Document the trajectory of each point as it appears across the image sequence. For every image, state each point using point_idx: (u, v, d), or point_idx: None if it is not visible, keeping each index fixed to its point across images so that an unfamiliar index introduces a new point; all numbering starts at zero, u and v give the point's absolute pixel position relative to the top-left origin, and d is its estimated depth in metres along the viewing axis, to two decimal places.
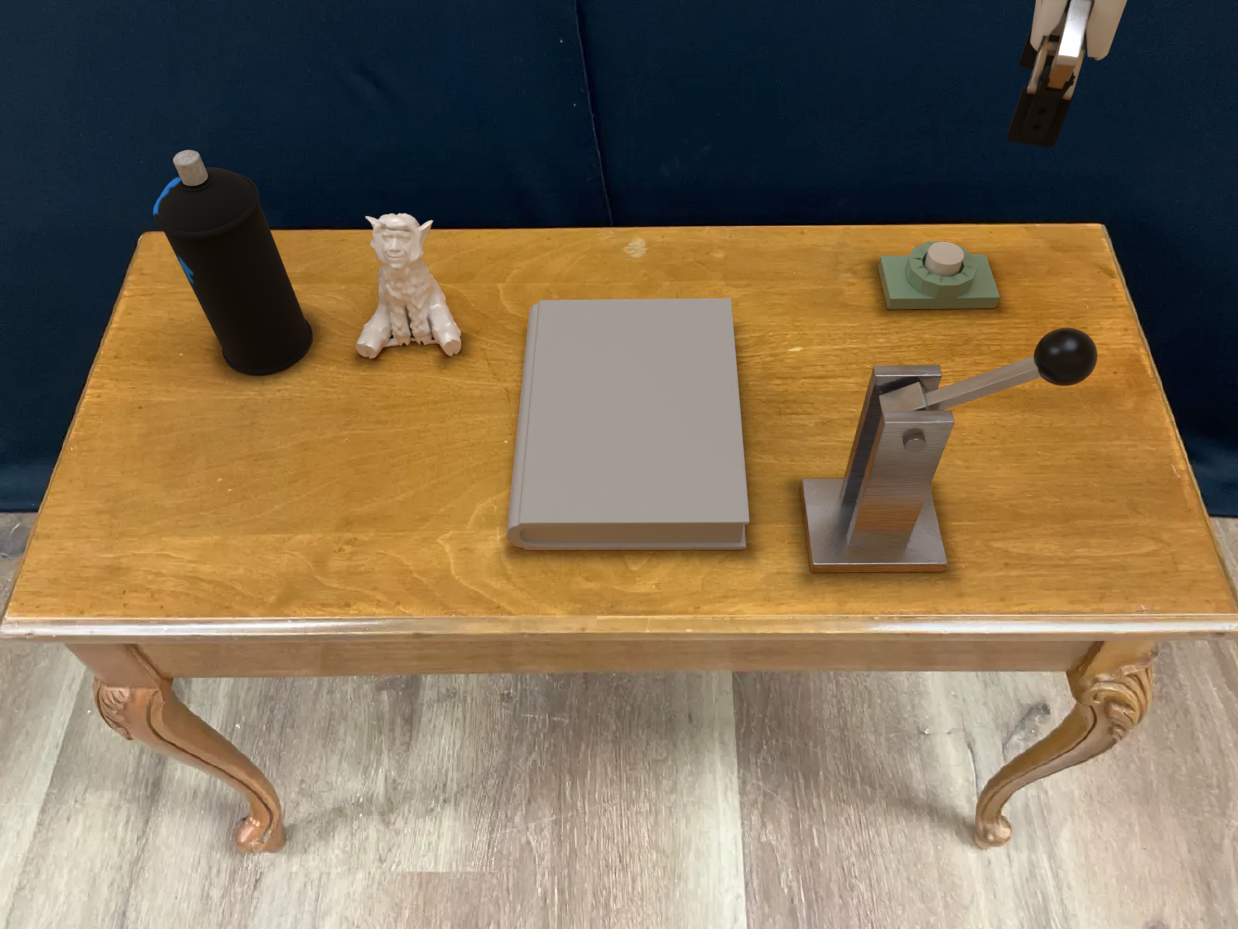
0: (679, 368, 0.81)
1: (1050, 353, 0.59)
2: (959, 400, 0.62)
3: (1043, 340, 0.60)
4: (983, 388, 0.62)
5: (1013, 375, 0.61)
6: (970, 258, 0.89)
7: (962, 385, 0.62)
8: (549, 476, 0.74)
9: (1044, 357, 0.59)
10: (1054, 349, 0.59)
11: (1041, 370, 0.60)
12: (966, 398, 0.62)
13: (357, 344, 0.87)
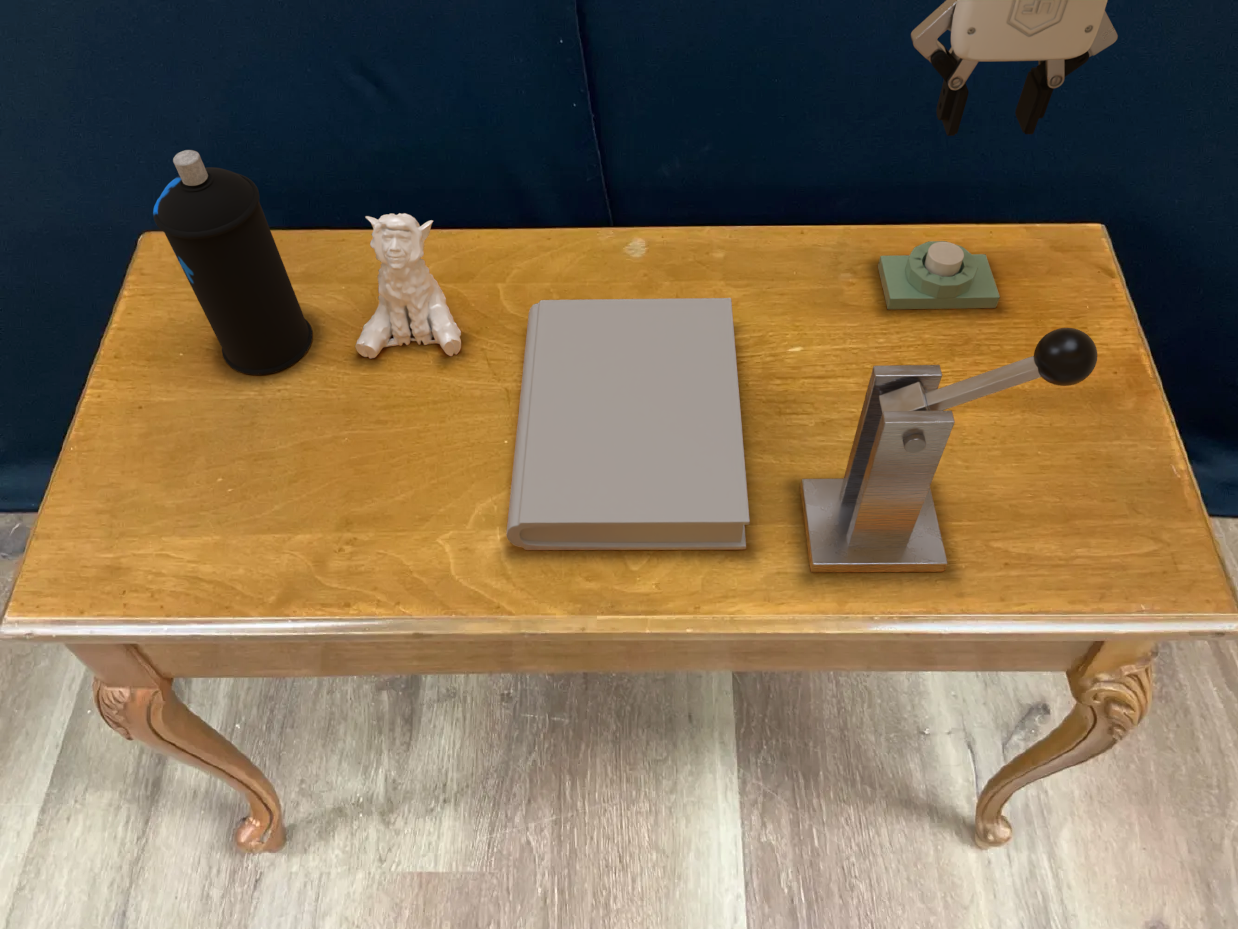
0: (679, 367, 0.81)
1: (1050, 353, 0.59)
2: (959, 400, 0.62)
3: (1043, 340, 0.60)
4: (983, 388, 0.62)
5: (1013, 375, 0.61)
6: (970, 258, 0.89)
7: (962, 385, 0.62)
8: (549, 476, 0.74)
9: (1044, 357, 0.59)
10: (1054, 349, 0.59)
11: (1041, 370, 0.60)
12: (966, 398, 0.62)
13: (357, 344, 0.87)
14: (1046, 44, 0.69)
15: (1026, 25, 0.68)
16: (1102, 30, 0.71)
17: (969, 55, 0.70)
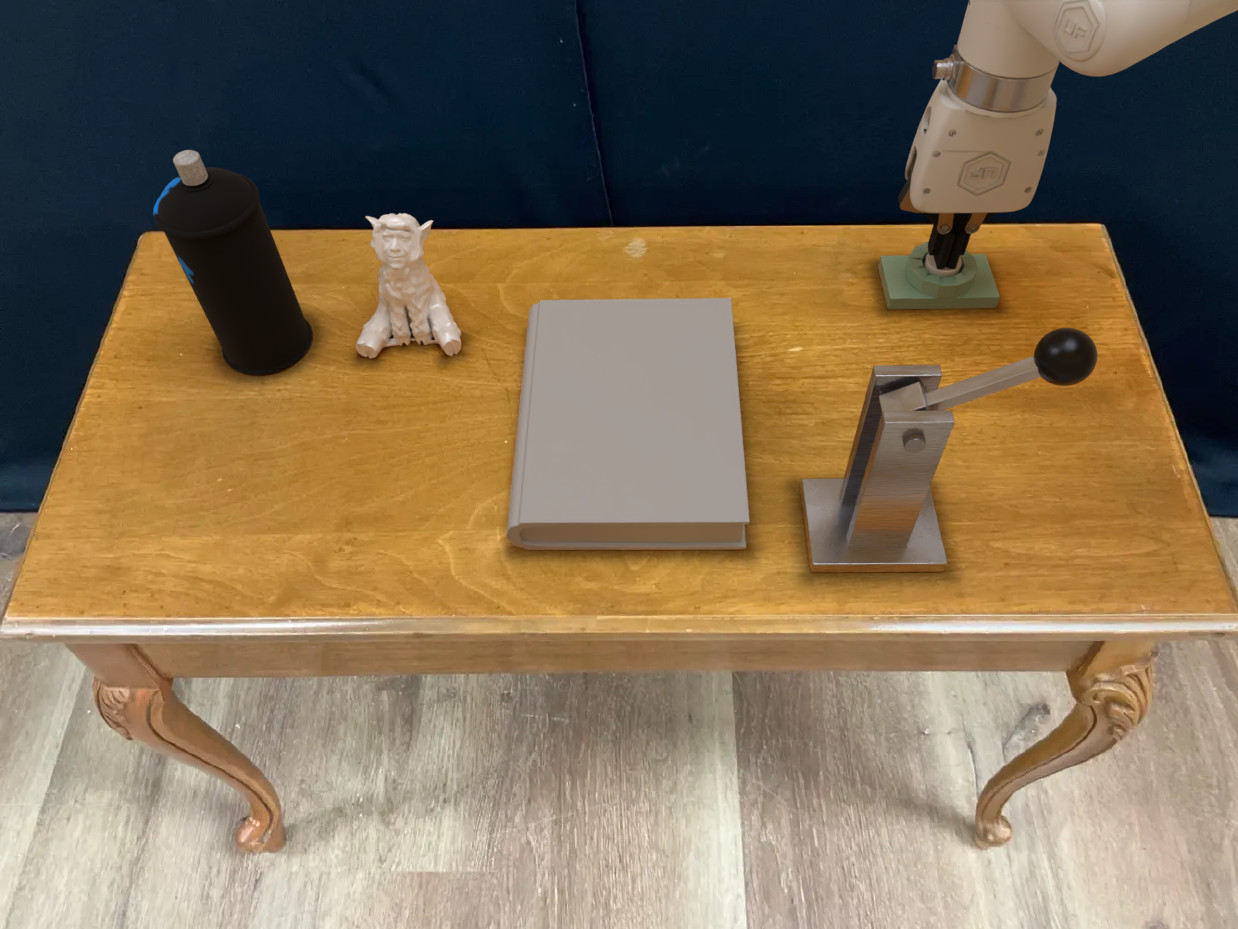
0: (679, 367, 0.81)
1: (1050, 353, 0.59)
2: (959, 400, 0.62)
3: (1043, 340, 0.60)
4: (983, 388, 0.62)
5: (1013, 375, 0.61)
6: (970, 258, 0.89)
7: (962, 385, 0.62)
8: (549, 476, 0.74)
9: (1044, 357, 0.59)
10: (1054, 349, 0.59)
11: (1041, 370, 0.60)
12: (966, 398, 0.62)
13: (357, 344, 0.87)
14: (991, 201, 0.80)
15: (974, 187, 0.79)
16: None
17: (925, 209, 0.81)
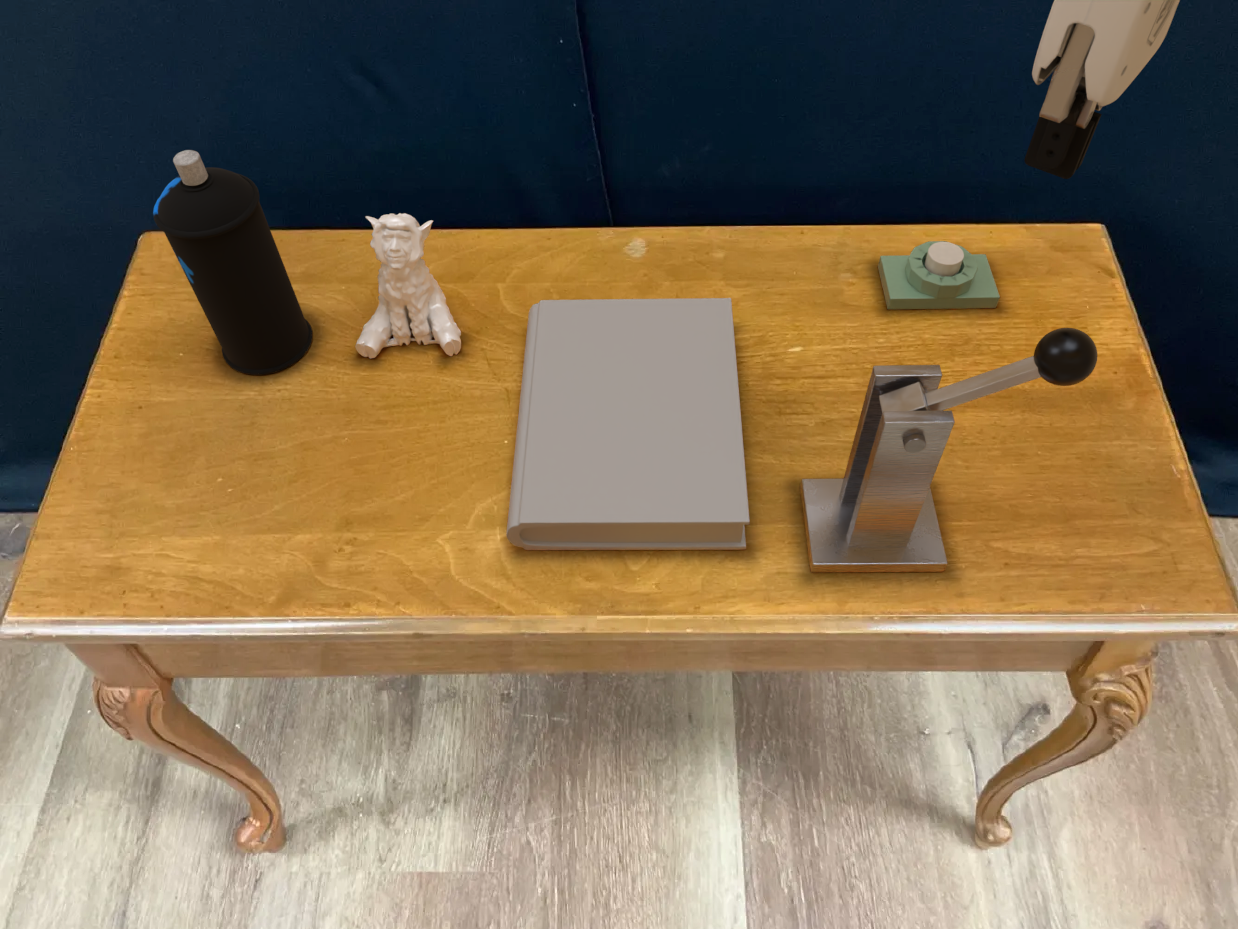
0: (679, 367, 0.81)
1: (1050, 353, 0.59)
2: (959, 400, 0.62)
3: (1043, 340, 0.60)
4: (983, 388, 0.62)
5: (1013, 375, 0.61)
6: (970, 258, 0.89)
7: (962, 385, 0.62)
8: (549, 476, 0.74)
9: (1044, 357, 0.59)
10: (1054, 349, 0.59)
11: (1041, 370, 0.60)
12: (966, 398, 0.62)
13: (357, 344, 0.87)
14: (1155, 45, 0.56)
15: (1153, 34, 0.54)
16: None
17: (1114, 98, 0.55)
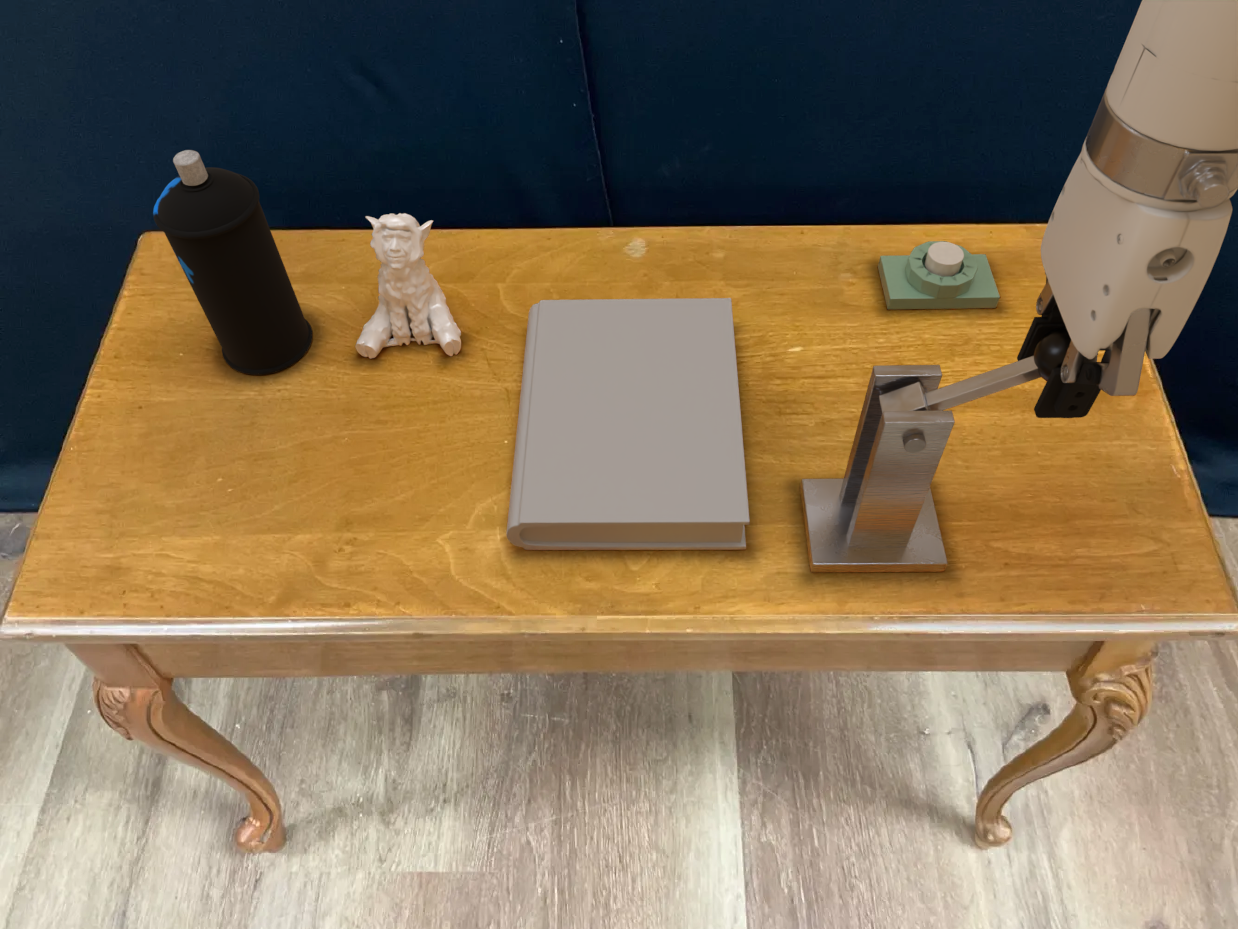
0: (679, 367, 0.81)
1: (1050, 353, 0.59)
2: (959, 400, 0.62)
3: (1043, 340, 0.60)
4: (983, 388, 0.62)
5: (1013, 375, 0.61)
6: (970, 258, 0.89)
7: (962, 385, 0.62)
8: (549, 476, 0.74)
9: (1044, 357, 0.59)
10: (1054, 349, 0.59)
11: (1041, 370, 0.60)
12: (966, 398, 0.62)
13: (357, 344, 0.87)
14: None
15: None
16: None
17: None
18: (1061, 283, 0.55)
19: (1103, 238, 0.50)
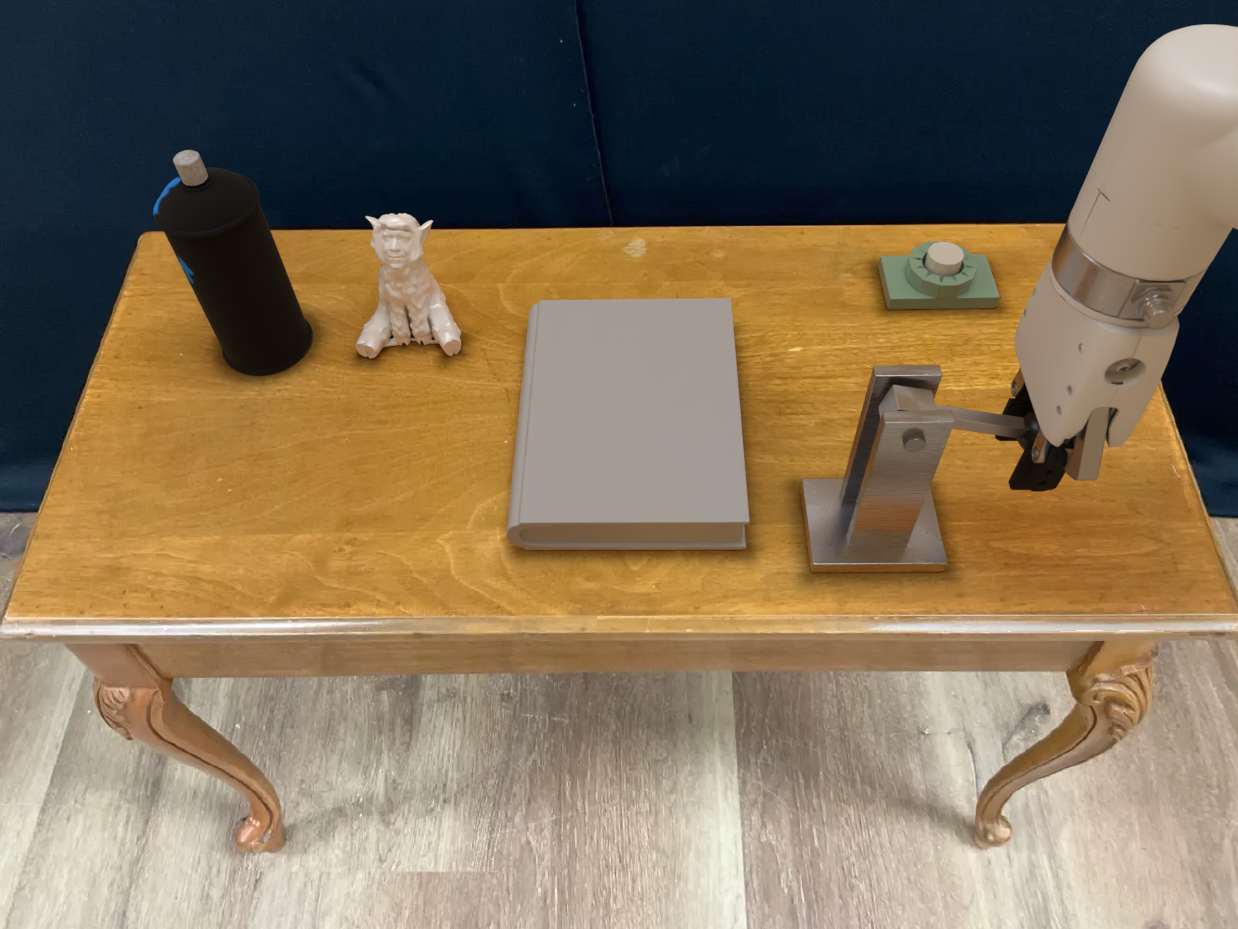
0: (679, 367, 0.81)
1: None
2: (955, 424, 0.64)
3: None
4: (980, 424, 0.64)
5: (1008, 426, 0.65)
6: (970, 258, 0.89)
7: (963, 412, 0.64)
8: (549, 476, 0.74)
9: None
10: None
11: (1030, 433, 0.65)
12: (961, 425, 0.64)
13: (357, 344, 0.87)
14: None
15: None
16: None
17: None
18: (1031, 375, 0.61)
19: (1067, 344, 0.56)
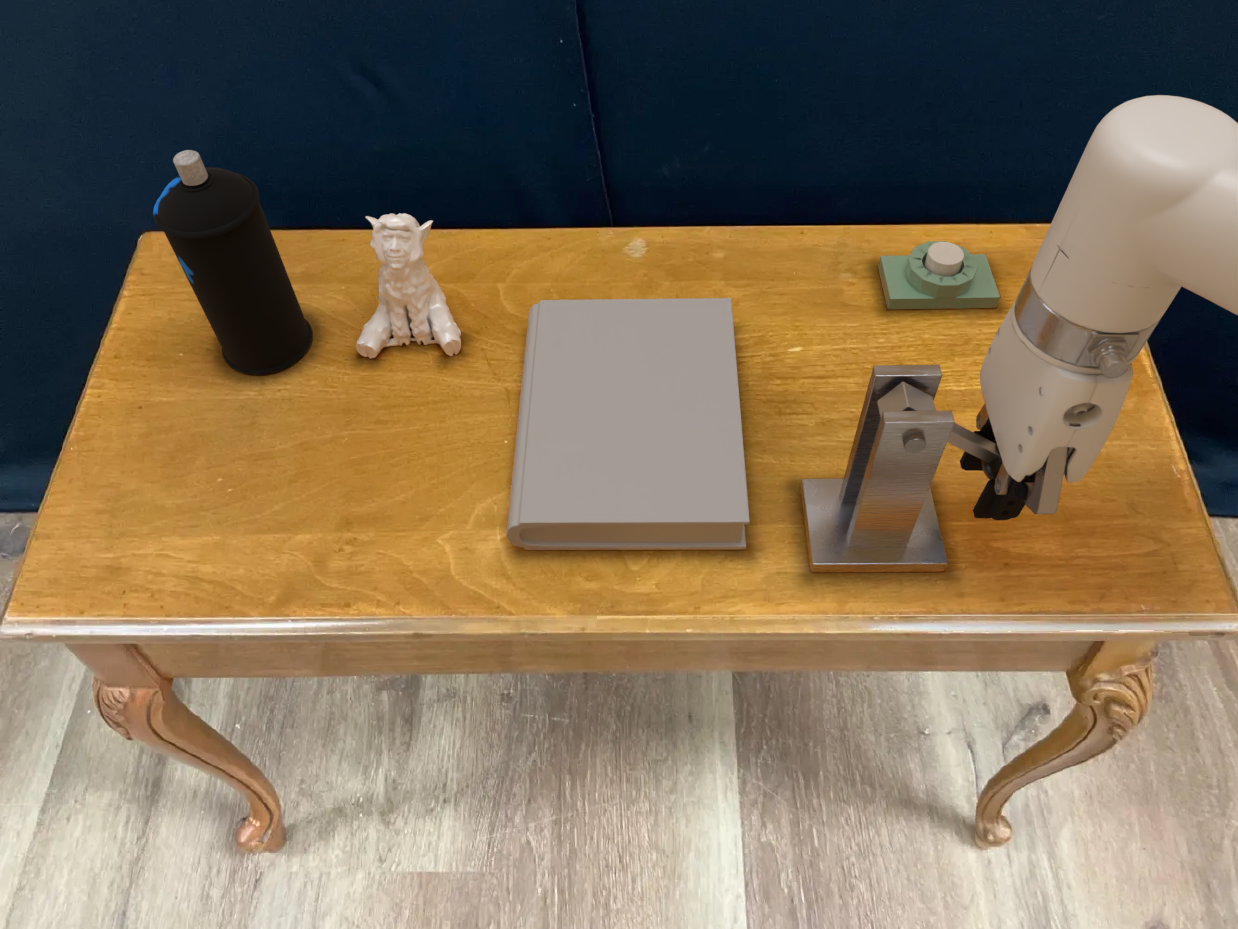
0: (679, 367, 0.81)
1: None
2: None
3: None
4: (964, 440, 0.66)
5: (985, 448, 0.66)
6: (970, 258, 0.89)
7: None
8: (549, 476, 0.74)
9: None
10: None
11: None
12: None
13: (357, 344, 0.87)
14: None
15: None
16: None
17: None
18: (995, 412, 0.64)
19: (1028, 387, 0.59)
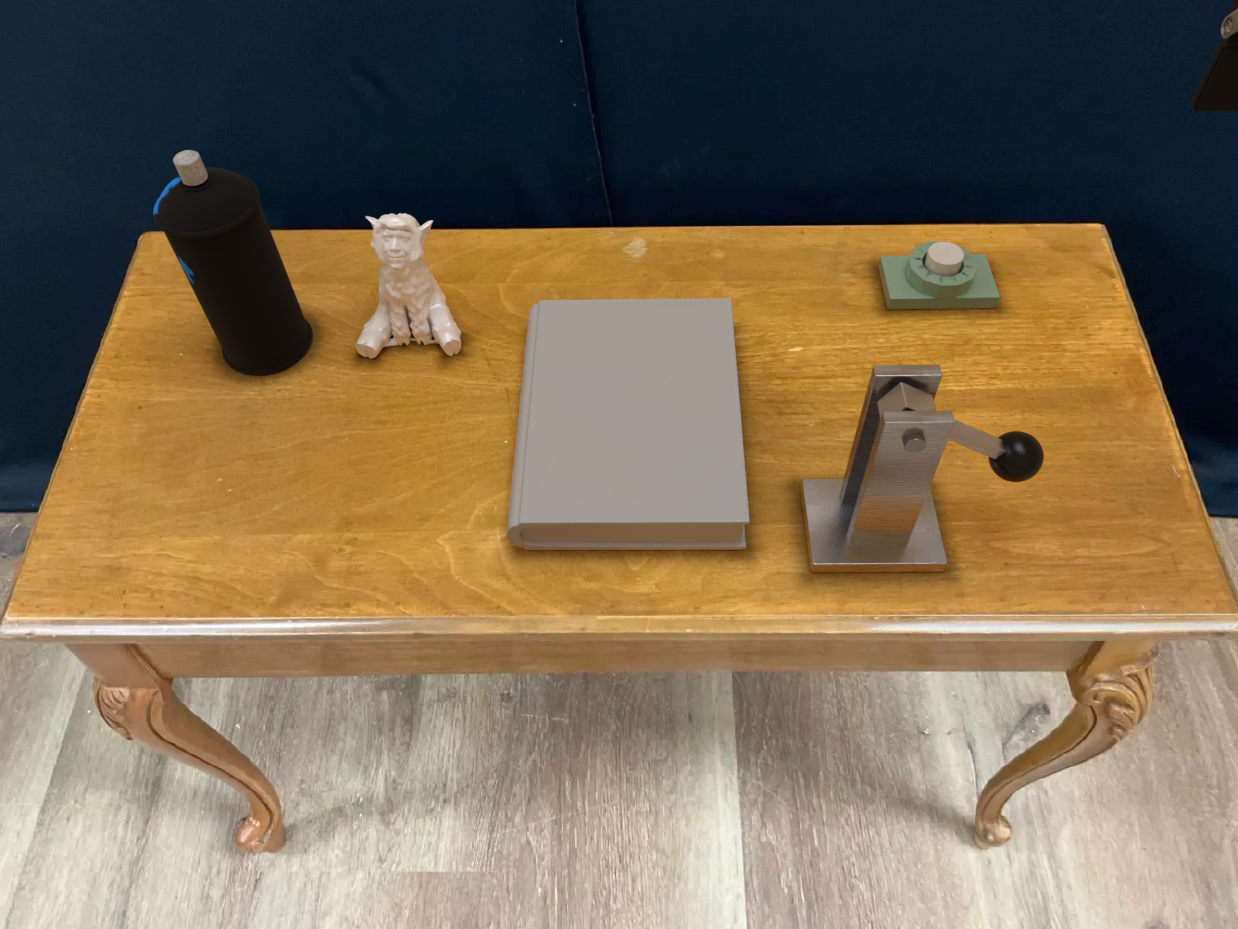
0: (679, 367, 0.81)
1: (1027, 448, 0.66)
2: None
3: (1021, 434, 0.67)
4: (968, 437, 0.65)
5: (990, 444, 0.66)
6: (970, 258, 0.89)
7: (955, 423, 0.65)
8: (549, 476, 0.74)
9: (1020, 448, 0.66)
10: (1031, 448, 0.66)
11: (1008, 455, 0.67)
12: (950, 435, 0.65)
13: (357, 344, 0.87)
14: None
15: None
16: None
17: None
18: None
19: None
